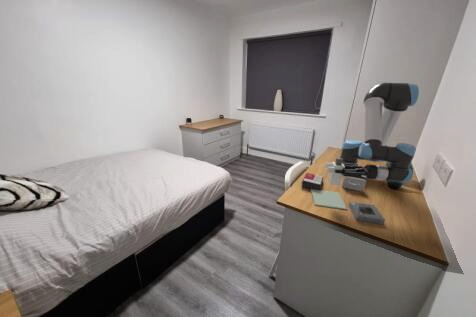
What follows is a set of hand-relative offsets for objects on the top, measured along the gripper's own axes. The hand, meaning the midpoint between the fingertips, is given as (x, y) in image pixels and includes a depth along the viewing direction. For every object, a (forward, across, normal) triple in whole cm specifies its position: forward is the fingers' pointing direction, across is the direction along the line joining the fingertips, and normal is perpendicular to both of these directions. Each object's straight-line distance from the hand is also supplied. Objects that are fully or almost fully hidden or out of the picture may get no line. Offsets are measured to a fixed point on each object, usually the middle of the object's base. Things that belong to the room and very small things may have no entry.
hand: (326, 167), depth 104 cm
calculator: (+1, +17, -20) cm, 26 cm away
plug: (-5, 0, -8) cm, 10 cm away
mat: (-4, +1, -20) cm, 20 cm away
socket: (-20, -9, -20) cm, 30 cm away
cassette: (-23, +17, -20) cm, 35 cm away
